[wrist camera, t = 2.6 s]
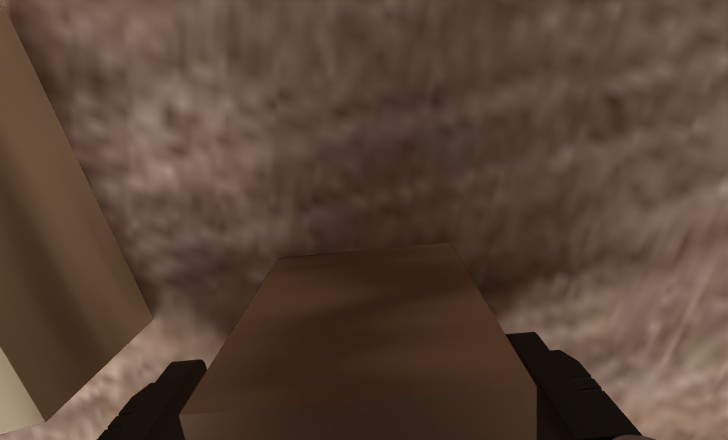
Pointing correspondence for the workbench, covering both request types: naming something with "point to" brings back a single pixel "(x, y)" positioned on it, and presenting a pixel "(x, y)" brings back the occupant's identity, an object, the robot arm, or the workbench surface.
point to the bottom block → (51, 257)
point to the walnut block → (366, 356)
